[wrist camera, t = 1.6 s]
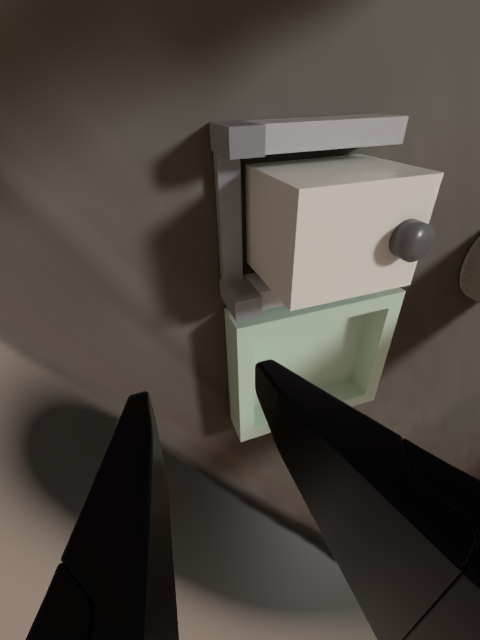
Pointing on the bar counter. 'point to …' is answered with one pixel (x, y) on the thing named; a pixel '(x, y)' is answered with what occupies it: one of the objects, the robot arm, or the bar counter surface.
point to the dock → (257, 141)
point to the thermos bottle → (471, 272)
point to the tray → (311, 351)
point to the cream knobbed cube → (337, 226)
